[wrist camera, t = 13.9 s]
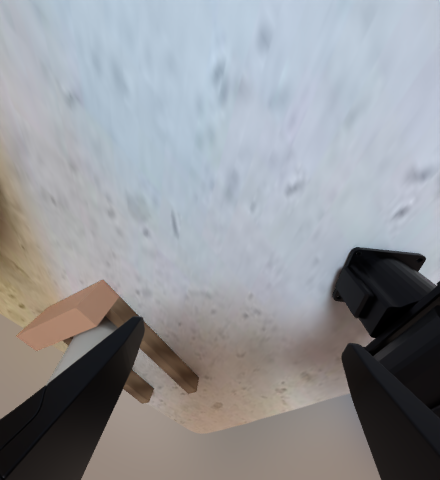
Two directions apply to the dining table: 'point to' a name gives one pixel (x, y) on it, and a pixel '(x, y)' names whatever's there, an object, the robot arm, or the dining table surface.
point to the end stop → (70, 316)
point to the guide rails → (156, 352)
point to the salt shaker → (84, 344)
